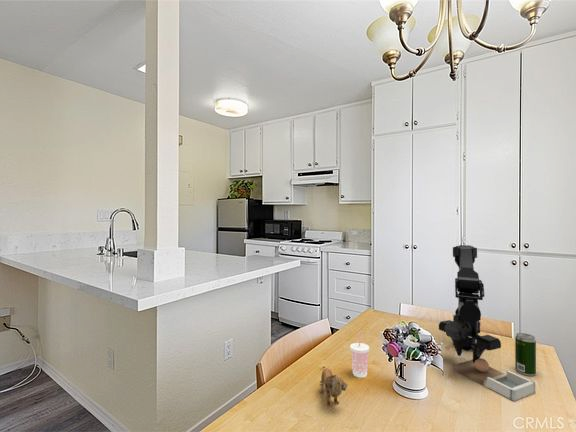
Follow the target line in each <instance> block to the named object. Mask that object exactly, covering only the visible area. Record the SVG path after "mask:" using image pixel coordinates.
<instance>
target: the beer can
mask: <svg viewBox="0 0 576 432" xmlns="http://www.w3.org/2000/svg"><path fill="white" fill-rule="evenodd" d="M514 342H515V343H514V345H515V347H514V348H515V349H514V350H515V351H514V356H515V357H514V359H515V360H514V362H515V363H514V364H515V365H514V366H515V370H516V373H519V374H521V375H523V376H525V377H526V376H527V377H534V376H536V374H537V340H536V337H535V336H534V335H532V334H529V333H523V332H516V333H515V336H514Z"/></svg>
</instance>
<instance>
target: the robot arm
mask: <svg viewBox="0 0 576 432" xmlns="http://www.w3.org/2000/svg"><path fill="white" fill-rule="evenodd" d="M452 258H454V263H455V264H456V265H457V267H458V271H457V274H456V275H457V276H456V278H454V287H455V288H454V290H455V298H458V302H457V303H458V306H457V308H456V310H455V312H454V314H453V316H452V317H453V320H450V319H448V320H442V321H440V322H439V323H438V330H439V331H441V332H444V333H445V335H446V336H447V337H449V338H450V339H451V340H452V345H453V346H454V348H455V351H456V354H457V357H460V356H461V355H462V353H463V350H465V351H467V352H469V351H472V360H473V363H475V360H476V359H478V358H481V356H482V354H483V353H484V352H485V350H486V351H494V350H497V349H501V348H502V342H501V340H500V338H497V337H495V336H492V335H490V334H485V335H481V317H482V313H481V312H482V311H481V310H480V307H479V301H483V300H484V297H485V288H484V287H485V285H484V283H483V281H482V280H481V279H480V277H479V273H478V272H477V271H475V269H474V264H475V262H476V259H477V258H478V248H477V247H474V246H473V245H471V244H470V245H469V244H464V245H463V244H460V245H456V246H453V247H452Z"/></svg>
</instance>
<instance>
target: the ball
mask: <svg viewBox="0 0 576 432" xmlns="http://www.w3.org/2000/svg"><path fill="white" fill-rule="evenodd" d="M474 364H475V367H476V369H477V370H479V371H481V372H486V371H488V369H489V367H490V365H489V364H490V363H488V361H487V360H486V359H485V358H481V357H480V358H478V359H476V360H475V363H474Z"/></svg>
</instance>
